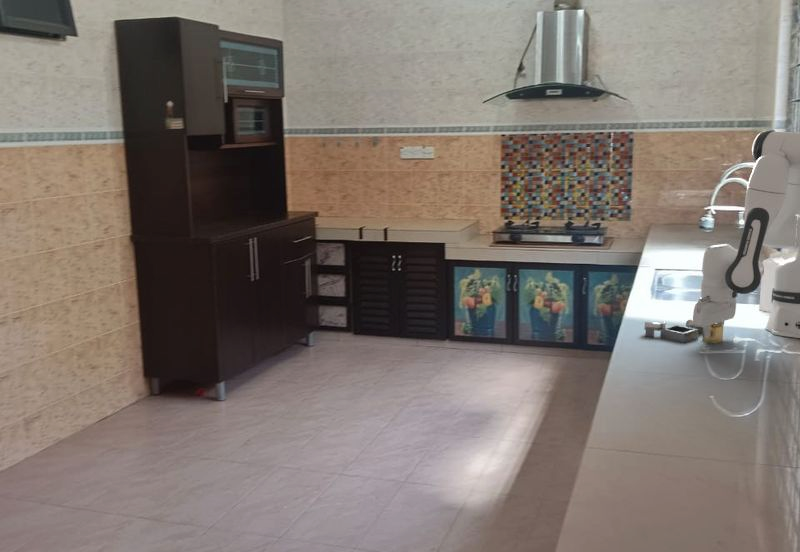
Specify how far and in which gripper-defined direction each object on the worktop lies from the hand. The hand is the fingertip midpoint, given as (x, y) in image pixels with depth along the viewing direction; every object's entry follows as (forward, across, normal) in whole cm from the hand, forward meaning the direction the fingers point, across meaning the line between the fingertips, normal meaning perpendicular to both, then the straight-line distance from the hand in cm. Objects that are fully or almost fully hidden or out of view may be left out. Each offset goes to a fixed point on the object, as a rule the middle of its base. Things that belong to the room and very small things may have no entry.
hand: (712, 335), depth 263 cm
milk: (+2, +55, +8) cm, 56 cm away
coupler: (+2, 0, 0) cm, 2 cm away
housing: (+2, -5, +9) cm, 11 cm away
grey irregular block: (+2, +6, +9) cm, 11 cm away
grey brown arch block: (+2, -9, +16) cm, 18 cm away
